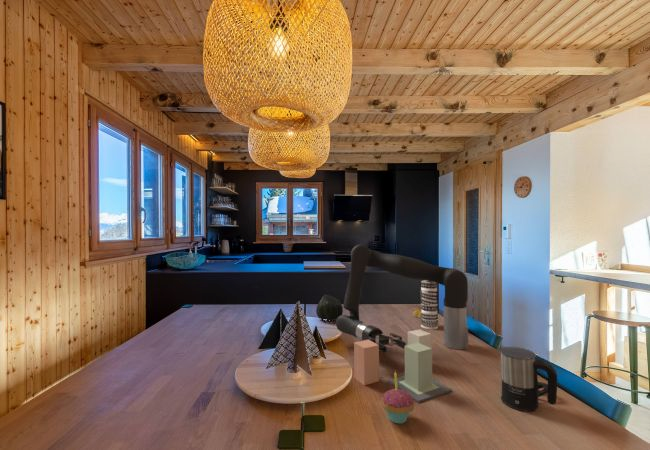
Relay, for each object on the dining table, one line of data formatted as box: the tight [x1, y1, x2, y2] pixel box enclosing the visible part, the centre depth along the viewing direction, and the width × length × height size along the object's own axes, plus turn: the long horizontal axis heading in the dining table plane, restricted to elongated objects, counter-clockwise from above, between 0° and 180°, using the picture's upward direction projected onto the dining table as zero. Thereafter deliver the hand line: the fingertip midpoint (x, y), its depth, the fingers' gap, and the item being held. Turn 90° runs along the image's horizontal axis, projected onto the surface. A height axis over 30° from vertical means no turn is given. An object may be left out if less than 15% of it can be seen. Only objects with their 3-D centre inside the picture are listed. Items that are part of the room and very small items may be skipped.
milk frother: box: [498, 346, 558, 412], centre depth 93 cm, size 14×16×15 cm
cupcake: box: [381, 369, 415, 424], centre depth 83 cm, size 9×8×12 cm
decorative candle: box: [419, 280, 439, 330], centre depth 163 cm, size 9×9×25 cm
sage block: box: [404, 343, 433, 391], centre depth 100 cm, size 6×6×12 cm
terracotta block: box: [353, 340, 380, 386], centre depth 105 cm, size 6×6×12 cm
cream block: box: [406, 328, 432, 348], centre depth 116 cm, size 6×6×12 cm
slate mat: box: [387, 375, 453, 404], centre depth 100 cm, size 14×14×1 cm
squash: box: [316, 294, 344, 322], centre depth 177 cm, size 14×15×15 cm
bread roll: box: [412, 309, 422, 319], centre depth 182 cm, size 8×9×4 cm
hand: (395, 347), depth 110 cm, fingers open, 8 cm apart
